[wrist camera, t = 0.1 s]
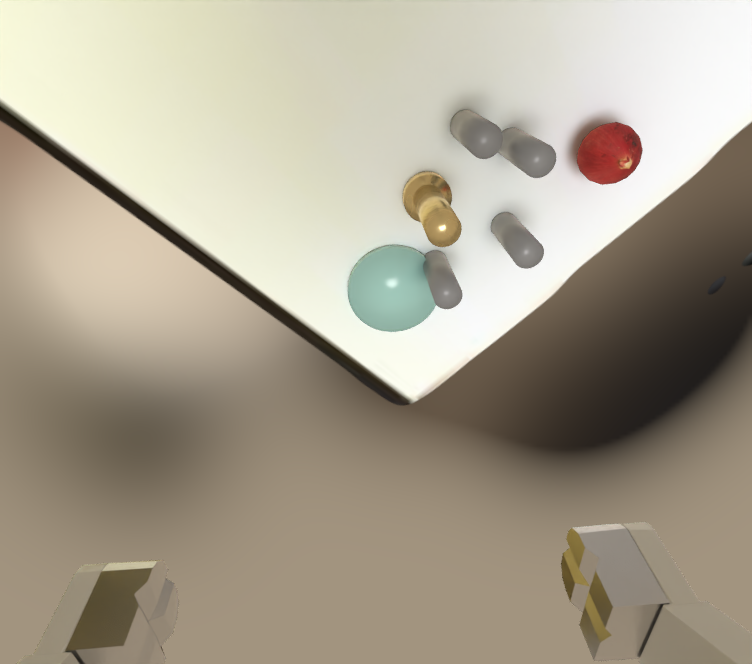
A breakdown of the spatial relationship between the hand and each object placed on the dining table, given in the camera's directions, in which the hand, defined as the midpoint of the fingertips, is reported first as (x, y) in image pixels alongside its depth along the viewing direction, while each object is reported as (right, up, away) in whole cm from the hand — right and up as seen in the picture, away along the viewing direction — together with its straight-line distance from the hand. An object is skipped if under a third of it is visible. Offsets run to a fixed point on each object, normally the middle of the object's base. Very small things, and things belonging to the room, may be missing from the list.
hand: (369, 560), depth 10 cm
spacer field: (+11, +20, +45) cm, 50 cm away
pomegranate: (+23, +25, +43) cm, 55 cm away
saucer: (+2, +10, +50) cm, 51 cm away
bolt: (+6, +20, +44) cm, 49 cm away
